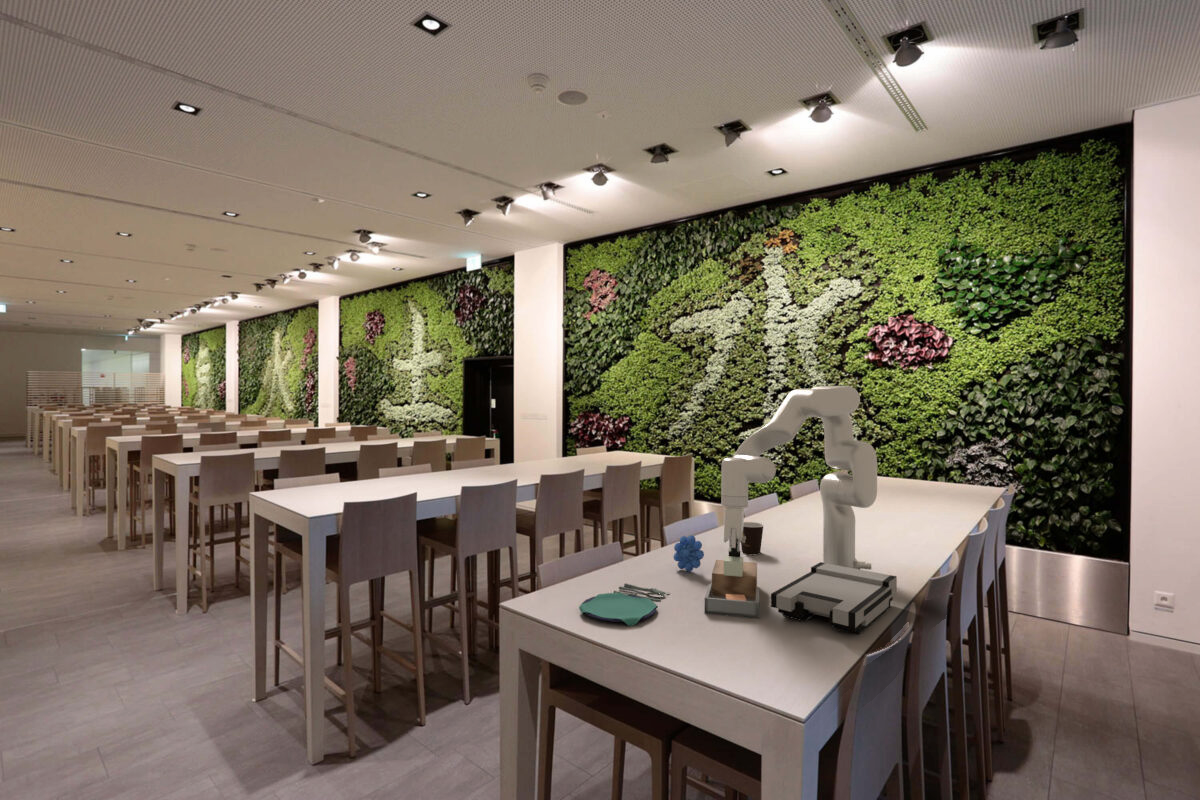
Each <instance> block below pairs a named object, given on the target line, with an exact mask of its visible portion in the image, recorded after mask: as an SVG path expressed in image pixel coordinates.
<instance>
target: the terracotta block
mask: <svg viewBox="0 0 1200 800" xmlns="http://www.w3.org/2000/svg"><path fill="white" fill-rule="evenodd" d="M726 599H731V600H742V601H746V598H745V595H737V594H726Z"/></svg>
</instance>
